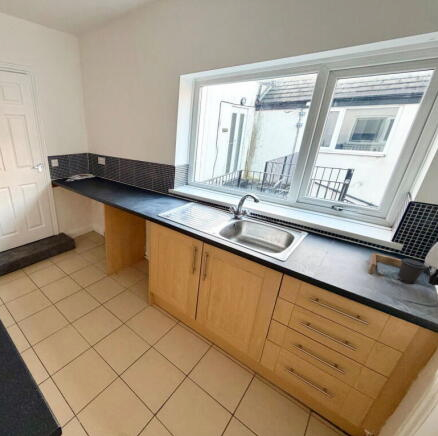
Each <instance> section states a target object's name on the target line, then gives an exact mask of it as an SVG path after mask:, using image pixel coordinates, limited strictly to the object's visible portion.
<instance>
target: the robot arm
mask: <svg viewBox="0 0 438 436" xmlns="http://www.w3.org/2000/svg"><path fill="white" fill-rule="evenodd" d="M423 264H424V265H425V266H427V268H428V269H429V273H430V277H429V278H428V282H427V283H428V284H429V285H432V286H438V241H437V242H435V244H433V246H431V248H430V250H429V251H428V253H427V255H426V256H425V259H424V262H423Z"/></svg>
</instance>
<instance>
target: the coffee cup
mask: <svg viewBox="0 0 438 436" xmlns="http://www.w3.org/2000/svg"><path fill="white" fill-rule="evenodd" d="M401 262H402V263H401V267H399V270H398V273H397V280H398V281H399V283H400V282H401V283H403V284H406V285H410V286H411V285H414V284H415V282H416V281H417V280H419V278H420V277H421V275H422V274H423V272H424V271H425V270H428V267H427V266H425V265H424V262H421V261H419V260H416V259H411V258H402V259H401Z"/></svg>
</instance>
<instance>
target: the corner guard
mask: <svg viewBox="0 0 438 436" xmlns="http://www.w3.org/2000/svg"><path fill="white" fill-rule="evenodd" d="M401 260H402V259H400V258H397V257H392V256H388V255H384V254H380V253H375V252H371V253H370V256H369V257H368V260H367V262H368V264H367V265H368V273H369V274H372V275H373V274H374V272H375V269H376V267H377V263H378V262H380V263H383V264H387V265H390V266H394V267H398V268H400V267H401V263H402V262H401Z"/></svg>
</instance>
